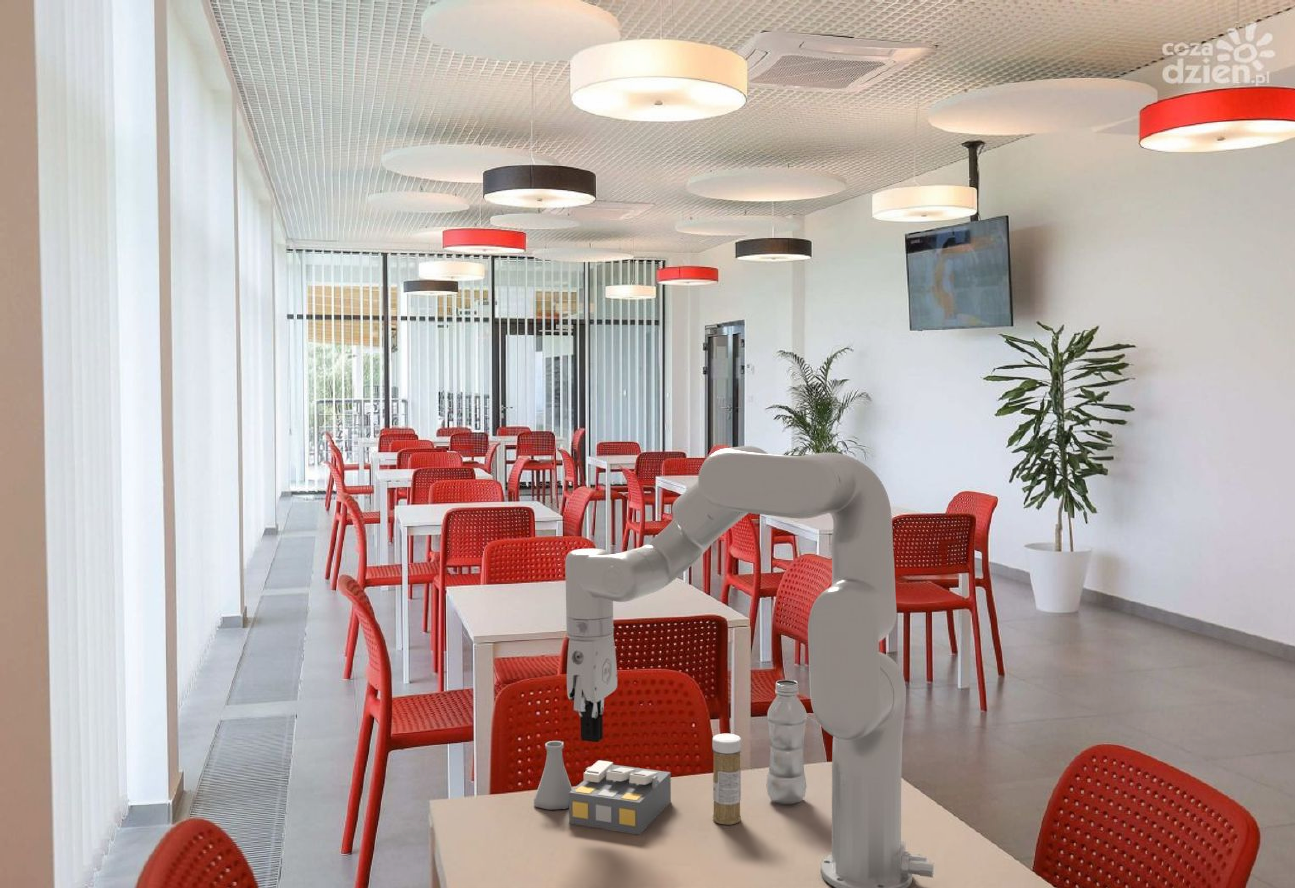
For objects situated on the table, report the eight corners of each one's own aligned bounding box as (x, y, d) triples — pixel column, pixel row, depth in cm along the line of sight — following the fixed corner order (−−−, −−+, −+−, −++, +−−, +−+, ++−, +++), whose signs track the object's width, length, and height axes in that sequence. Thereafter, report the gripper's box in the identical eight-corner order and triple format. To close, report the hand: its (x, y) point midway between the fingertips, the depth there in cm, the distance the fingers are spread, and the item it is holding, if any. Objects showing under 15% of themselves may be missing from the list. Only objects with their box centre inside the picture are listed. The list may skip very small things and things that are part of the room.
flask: (569, 813, 170) (569, 752, 170) (527, 809, 172) (526, 749, 171) (581, 796, 177) (581, 738, 177) (540, 793, 179) (540, 735, 178)
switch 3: (657, 779, 170) (658, 771, 171) (644, 784, 165) (645, 775, 165) (642, 777, 171) (643, 769, 172) (629, 782, 166) (629, 773, 166)
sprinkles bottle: (715, 813, 169) (714, 731, 169) (743, 815, 168) (743, 733, 168) (710, 824, 165) (710, 740, 164) (739, 827, 164) (739, 742, 163)
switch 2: (635, 776, 172) (635, 768, 172) (621, 781, 166) (621, 772, 167) (620, 774, 173) (621, 766, 173) (606, 779, 167) (606, 770, 168)
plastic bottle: (759, 798, 176) (759, 680, 175) (793, 791, 179) (793, 675, 178) (779, 811, 170) (779, 689, 169) (814, 804, 173) (814, 685, 172)
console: (671, 801, 174) (670, 762, 174) (639, 835, 161) (639, 792, 161) (604, 792, 179) (604, 754, 178) (568, 823, 165) (568, 782, 165)
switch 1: (613, 769, 174) (612, 761, 173) (598, 782, 168) (598, 774, 168) (598, 767, 174) (598, 759, 174) (583, 780, 169) (583, 772, 169)
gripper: (592, 638, 159) (594, 757, 160) (629, 618, 173) (631, 728, 174) (547, 634, 162) (550, 752, 162) (587, 616, 176) (589, 724, 176)
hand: (591, 739), depth 168 cm, fingers closed
